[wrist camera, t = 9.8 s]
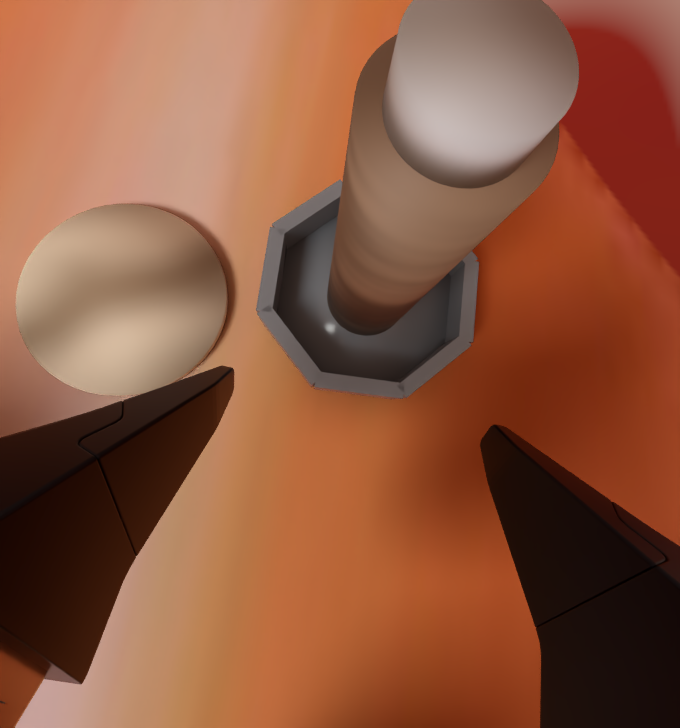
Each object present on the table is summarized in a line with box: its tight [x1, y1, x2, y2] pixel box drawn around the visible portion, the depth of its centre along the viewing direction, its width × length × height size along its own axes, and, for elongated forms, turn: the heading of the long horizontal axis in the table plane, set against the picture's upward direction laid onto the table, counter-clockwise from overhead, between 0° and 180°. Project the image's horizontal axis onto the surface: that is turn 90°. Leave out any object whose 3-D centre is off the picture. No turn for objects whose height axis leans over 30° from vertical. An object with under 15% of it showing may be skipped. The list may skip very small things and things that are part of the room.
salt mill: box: [327, 0, 579, 336], centre depth 12 cm, size 5×5×13 cm
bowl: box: [256, 180, 479, 399], centre depth 18 cm, size 12×12×2 cm
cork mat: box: [16, 204, 228, 396], centre depth 18 cm, size 11×11×1 cm
